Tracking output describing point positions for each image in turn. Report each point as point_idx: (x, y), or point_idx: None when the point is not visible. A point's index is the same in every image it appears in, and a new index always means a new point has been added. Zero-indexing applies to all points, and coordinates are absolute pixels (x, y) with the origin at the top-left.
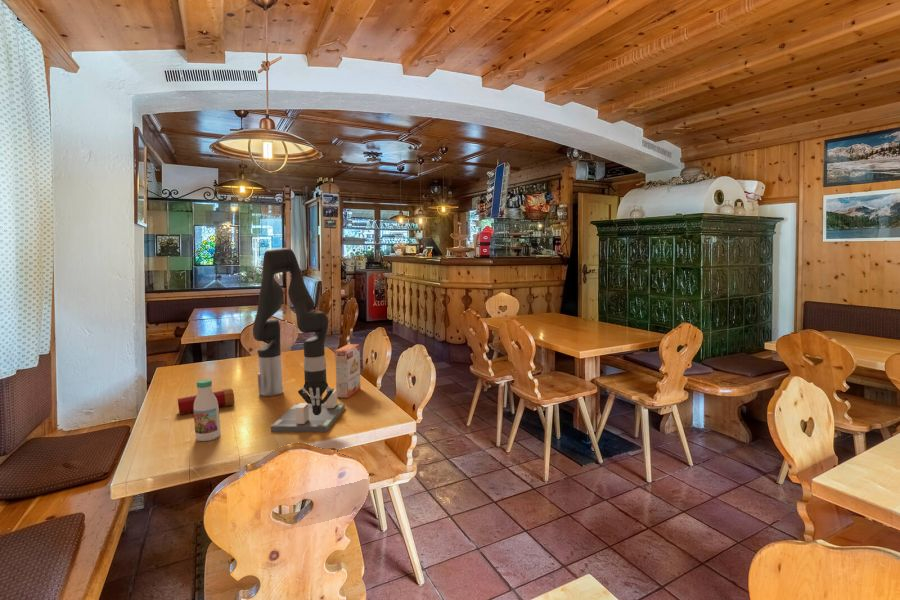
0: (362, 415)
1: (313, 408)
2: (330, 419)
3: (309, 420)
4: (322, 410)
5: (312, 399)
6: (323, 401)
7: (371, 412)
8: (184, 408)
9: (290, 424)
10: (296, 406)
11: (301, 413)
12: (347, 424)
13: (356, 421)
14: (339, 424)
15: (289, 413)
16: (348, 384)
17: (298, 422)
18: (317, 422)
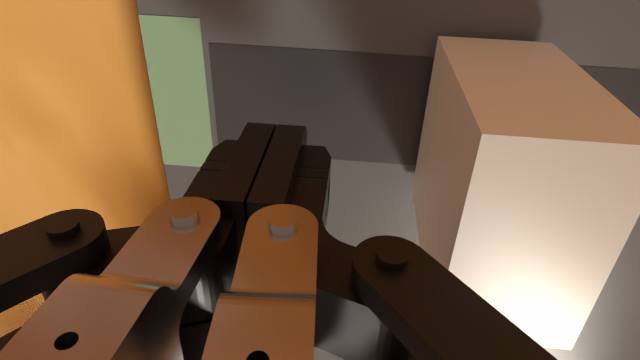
0: (35, 296)
1: (308, 189)
2: (181, 170)
3: (400, 160)
4: (336, 357)
5: (279, 297)
6: (40, 242)
7: (4, 333)
8: None
9: (622, 52)
10: (638, 215)
11: (500, 89)
12: (51, 142)
13: (12, 198)
14: (123, 147)
15: (636, 333)
16: None
17: (519, 45)
18: (290, 97)
